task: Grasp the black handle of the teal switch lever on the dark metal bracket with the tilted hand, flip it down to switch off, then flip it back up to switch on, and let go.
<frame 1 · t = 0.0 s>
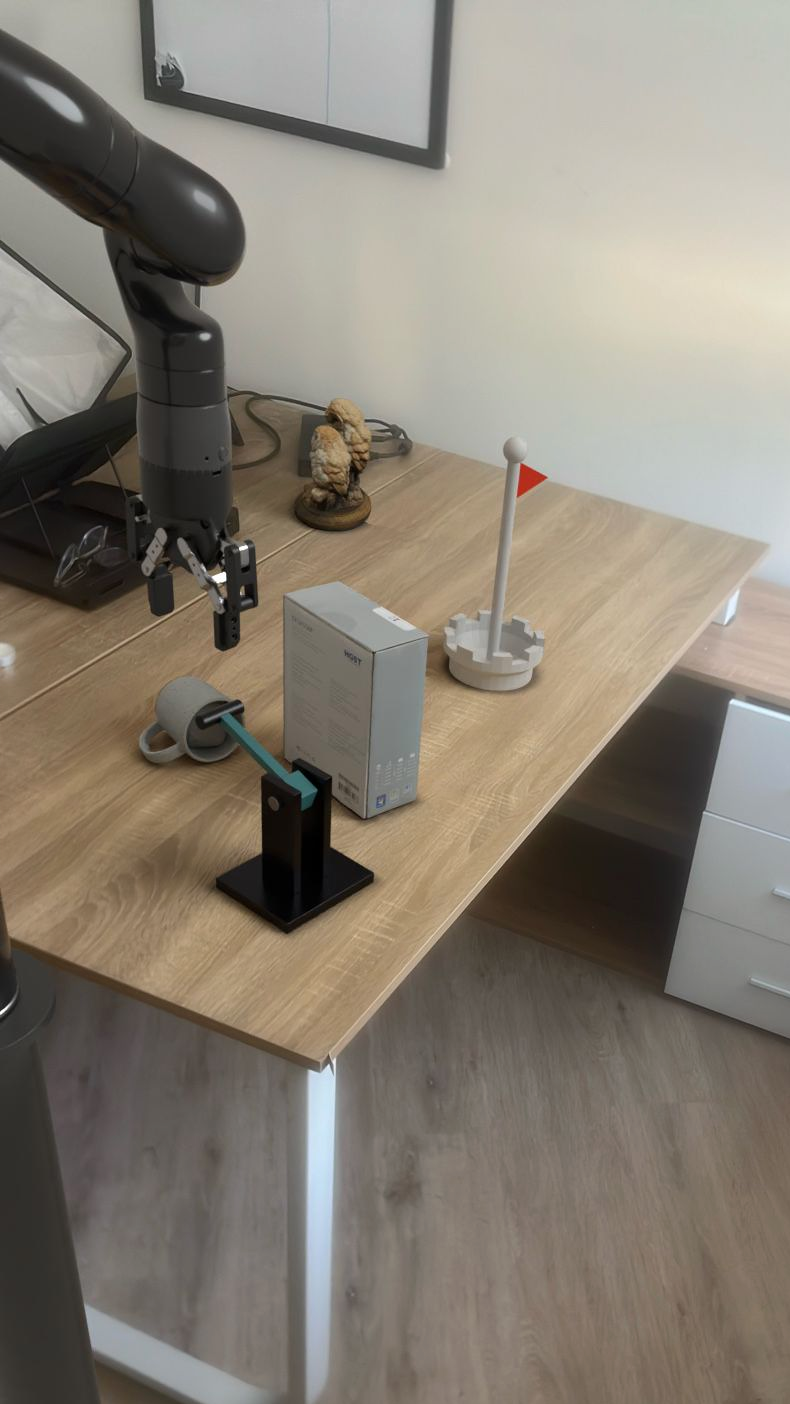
hand: (194, 630, 116), 24 cm above the table, tool pointing down, fingers open, 8 cm apart
hard drive box: (348, 780, 143), on the table
flag stand: (490, 671, 167), on the table
ceramic mug: (189, 751, 144), on the table
switch bracket: (296, 884, 127), on the table
switch lever: (260, 755, 121), point 13 cm above the table, hinge at 20.0°
owl figurine: (333, 510, 202), on the table
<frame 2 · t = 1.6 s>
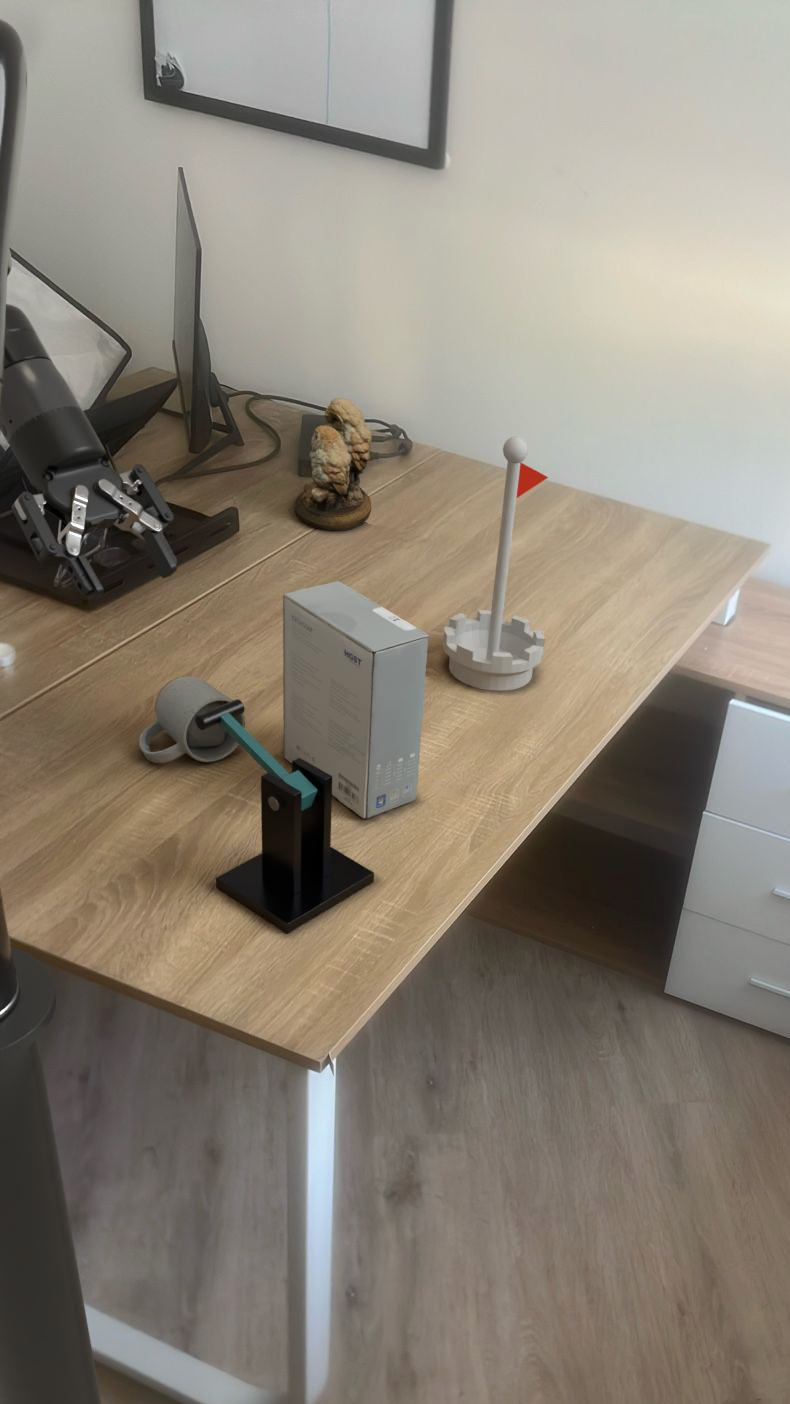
hand: (135, 585, 121), 24 cm above the table, tool tilted 45°, fingers open, 8 cm apart
nothing on the table moved.
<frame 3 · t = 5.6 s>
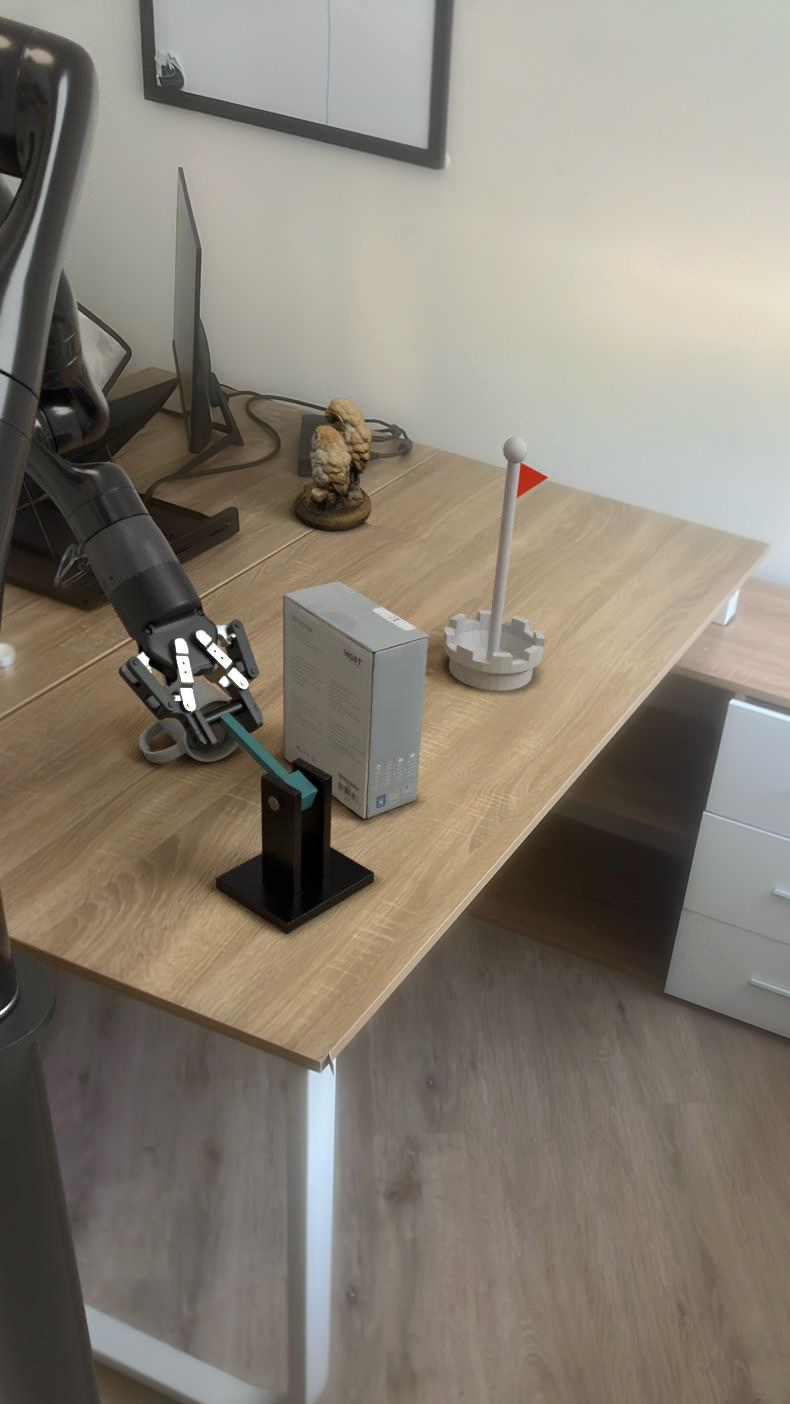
hand: (234, 738, 122), 13 cm above the table, tool tilted 45°, fingers closed on switch lever, 5 cm apart
switch lever: (260, 755, 121), point 13 cm above the table, hinge at 20.0°, touching gripper
everything else where it was.
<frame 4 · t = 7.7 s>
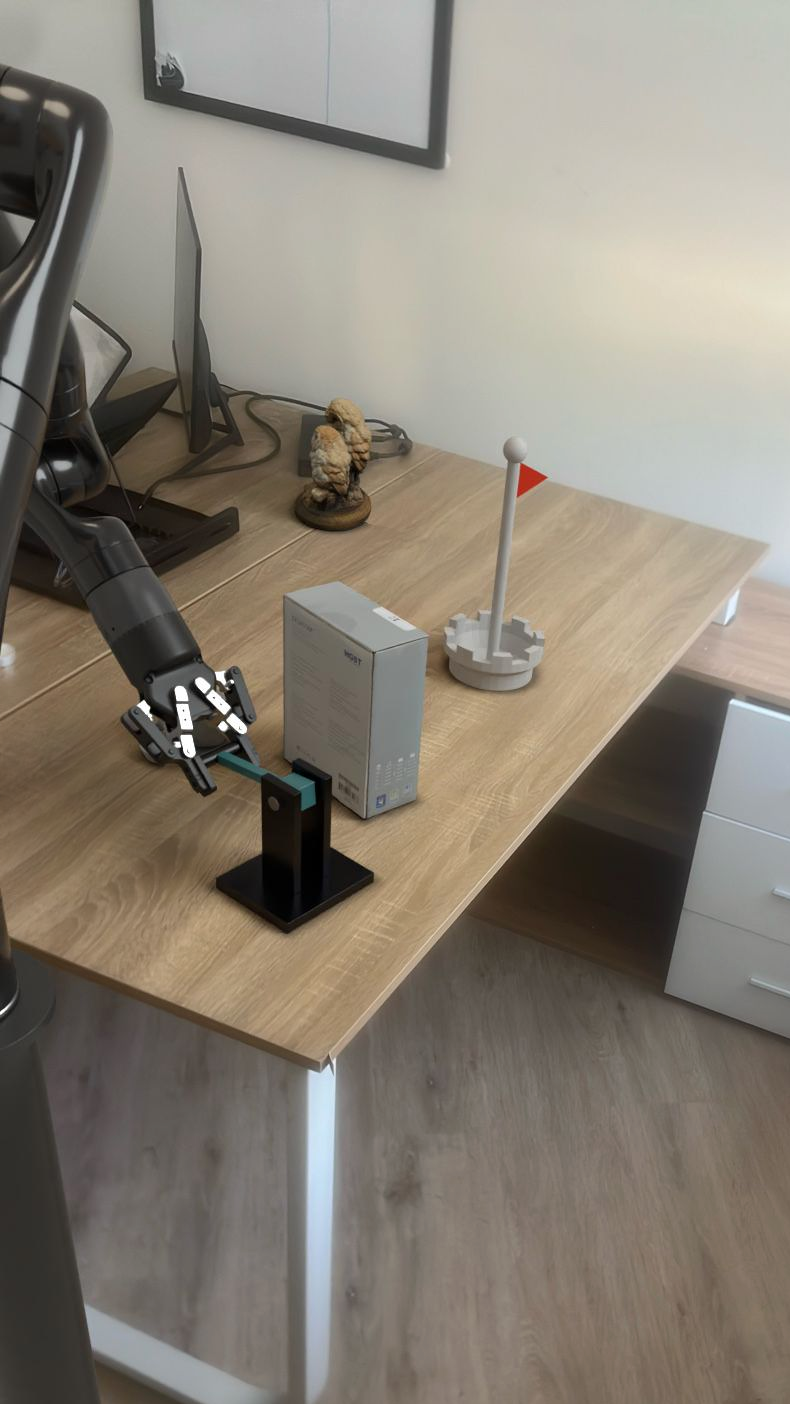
hand: (232, 782, 126), 8 cm above the table, tool tilted 45°, fingers closed on switch lever, 5 cm apart
switch lever: (258, 774, 123), point 10 cm above the table, hinge at -5.8°, touching gripper
everything else where it was.
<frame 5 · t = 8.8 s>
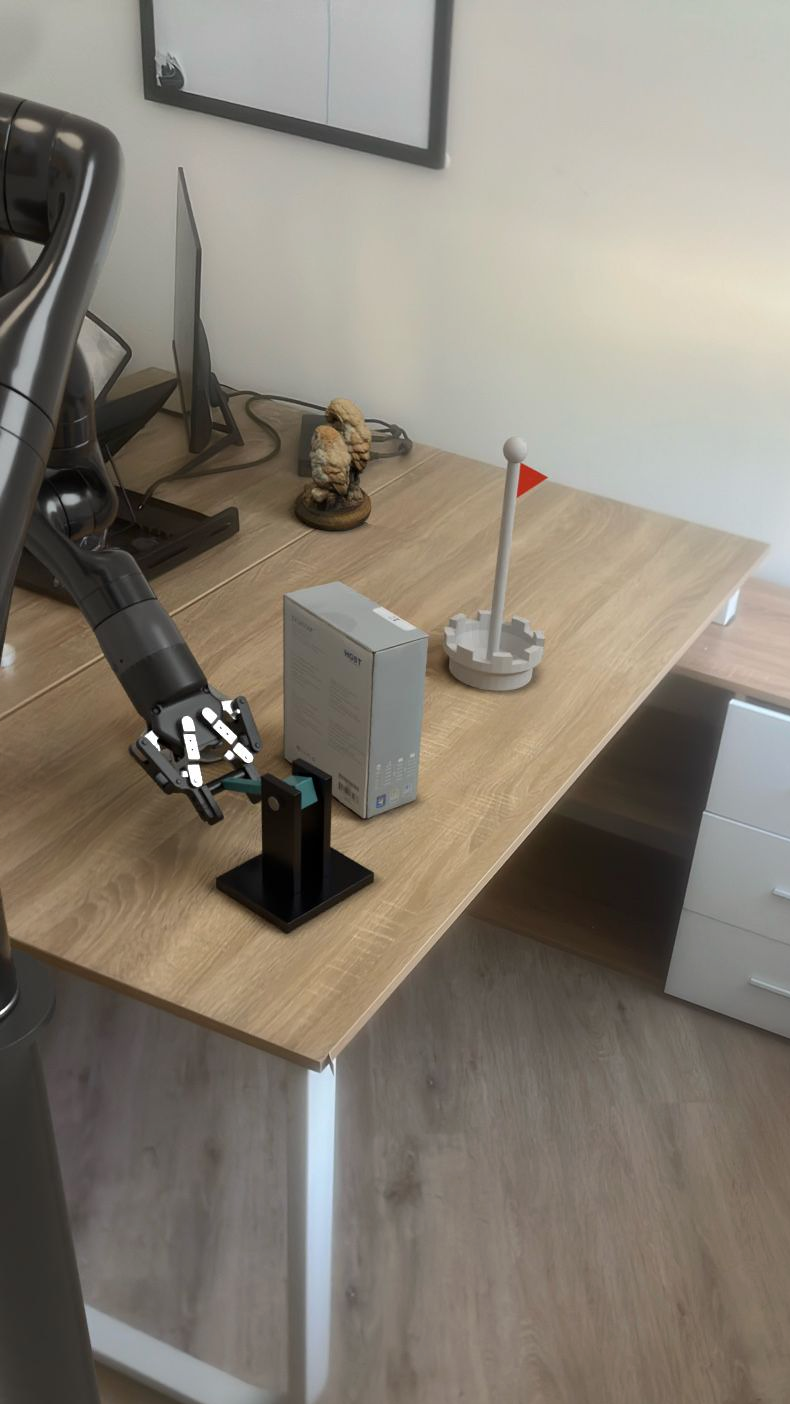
hand: (239, 810, 127), 5 cm above the table, tool tilted 45°, fingers closed on switch lever, 5 cm apart
switch lever: (261, 787, 123), point 9 cm above the table, hinge at -21.2°, touching gripper
everything else where it was.
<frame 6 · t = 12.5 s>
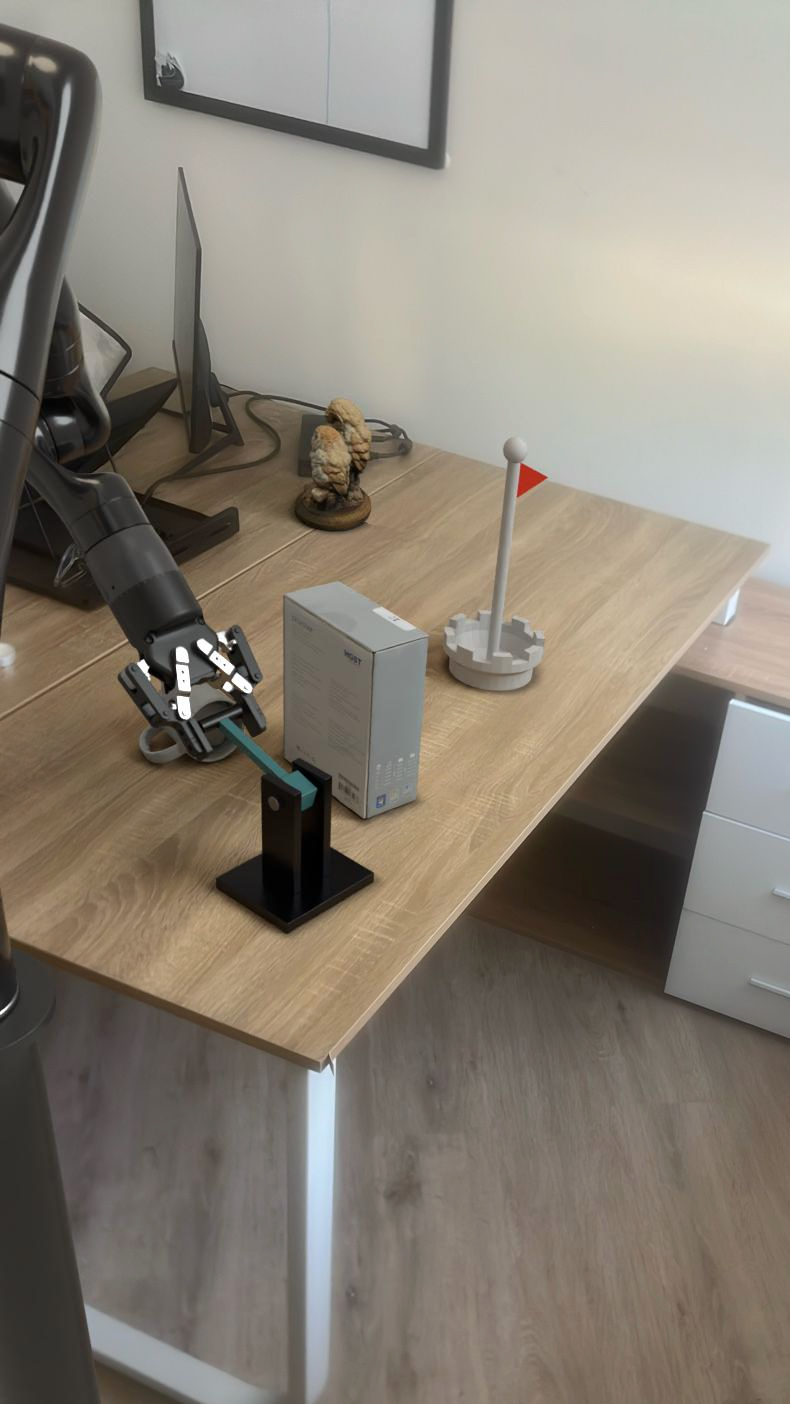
hand: (233, 744, 123), 12 cm above the table, tool tilted 45°, fingers open, 6 cm apart
switch lever: (259, 757, 121), point 12 cm above the table, hinge at 16.5°
everything else where it was.
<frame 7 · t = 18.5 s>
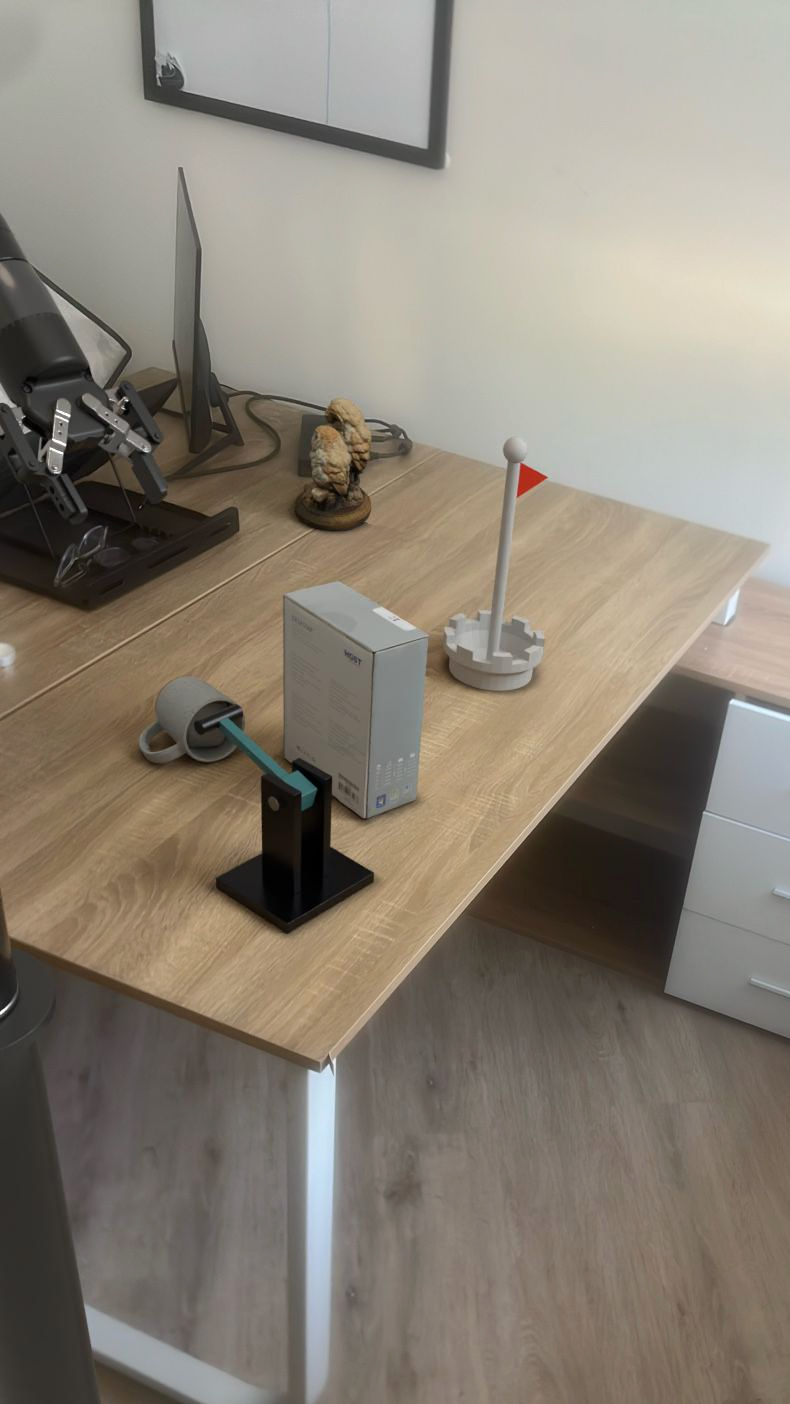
hand: (122, 509, 112), 33 cm above the table, tool tilted 45°, fingers open, 8 cm apart
nothing on the table moved.
at the end: switch lever reached -21° during the clip, +16° at the end; switch lever at +16° (first picture: +20°) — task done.
